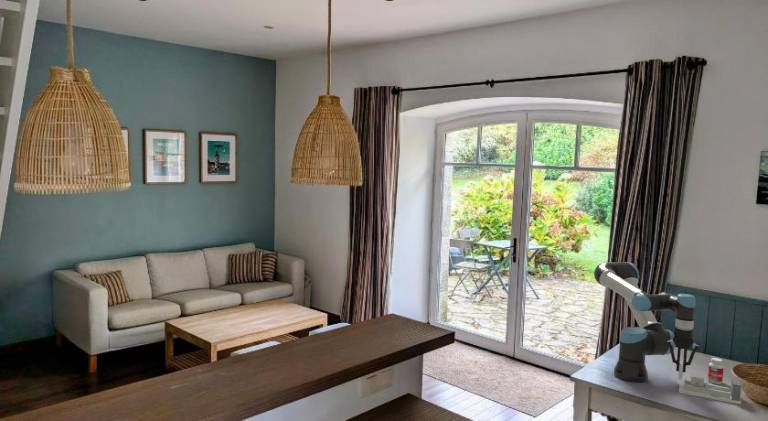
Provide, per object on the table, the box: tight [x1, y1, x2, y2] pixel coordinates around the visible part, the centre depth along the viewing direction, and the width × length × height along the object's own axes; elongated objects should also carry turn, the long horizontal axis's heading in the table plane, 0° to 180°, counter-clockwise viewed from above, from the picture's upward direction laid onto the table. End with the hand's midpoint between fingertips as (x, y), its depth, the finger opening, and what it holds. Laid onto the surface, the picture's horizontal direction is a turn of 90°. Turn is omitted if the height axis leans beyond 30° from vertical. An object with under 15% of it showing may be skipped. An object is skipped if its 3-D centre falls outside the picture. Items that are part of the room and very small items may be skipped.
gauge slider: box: [690, 373, 709, 387], centre depth 258 cm, size 7×7×6 cm
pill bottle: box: [707, 357, 725, 385], centre depth 273 cm, size 6×6×11 cm
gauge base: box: [678, 377, 742, 405], centre depth 257 cm, size 24×10×8 cm, turn 62°
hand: (680, 378), depth 262 cm, fingers closed
